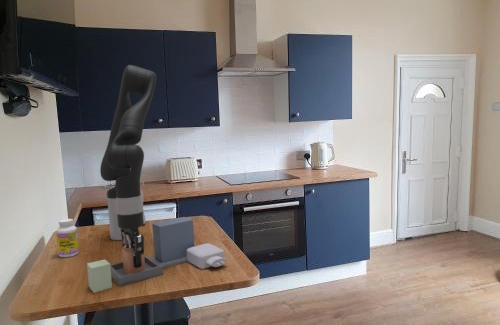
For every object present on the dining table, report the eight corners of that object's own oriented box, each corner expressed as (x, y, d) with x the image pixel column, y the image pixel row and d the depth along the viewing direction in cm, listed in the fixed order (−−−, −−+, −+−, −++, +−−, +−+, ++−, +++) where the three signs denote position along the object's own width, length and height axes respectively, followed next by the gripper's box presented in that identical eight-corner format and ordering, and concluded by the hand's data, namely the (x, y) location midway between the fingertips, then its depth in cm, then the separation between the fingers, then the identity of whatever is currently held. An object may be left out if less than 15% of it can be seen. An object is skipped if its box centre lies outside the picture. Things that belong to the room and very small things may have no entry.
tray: (107, 273, 117) (106, 265, 117) (147, 262, 125) (146, 255, 124) (120, 286, 107) (119, 278, 106) (163, 274, 114) (162, 266, 114)
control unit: (149, 260, 127) (147, 222, 126) (187, 250, 135) (184, 215, 134) (161, 268, 119) (159, 228, 118) (200, 257, 127) (198, 220, 126)
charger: (209, 276, 112) (187, 262, 124) (235, 268, 117) (211, 255, 129) (208, 260, 111) (186, 248, 124) (234, 253, 117) (210, 242, 129)
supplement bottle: (57, 259, 133) (53, 223, 131) (60, 253, 139) (57, 219, 138) (77, 256, 134) (74, 221, 133) (80, 250, 141) (77, 217, 140)
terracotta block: (123, 270, 116) (122, 249, 116) (139, 266, 119) (137, 245, 118) (129, 275, 112) (127, 253, 112) (145, 271, 115) (143, 249, 114)
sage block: (89, 287, 107) (86, 263, 107) (107, 282, 110) (105, 259, 110) (93, 293, 103) (91, 268, 103) (112, 287, 106) (110, 263, 106)
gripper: (150, 212, 110) (154, 267, 112) (133, 205, 122) (137, 255, 123) (125, 217, 106) (129, 274, 107) (110, 209, 117) (114, 261, 119)
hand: (134, 264), depth 115 cm, fingers open, 6 cm apart
